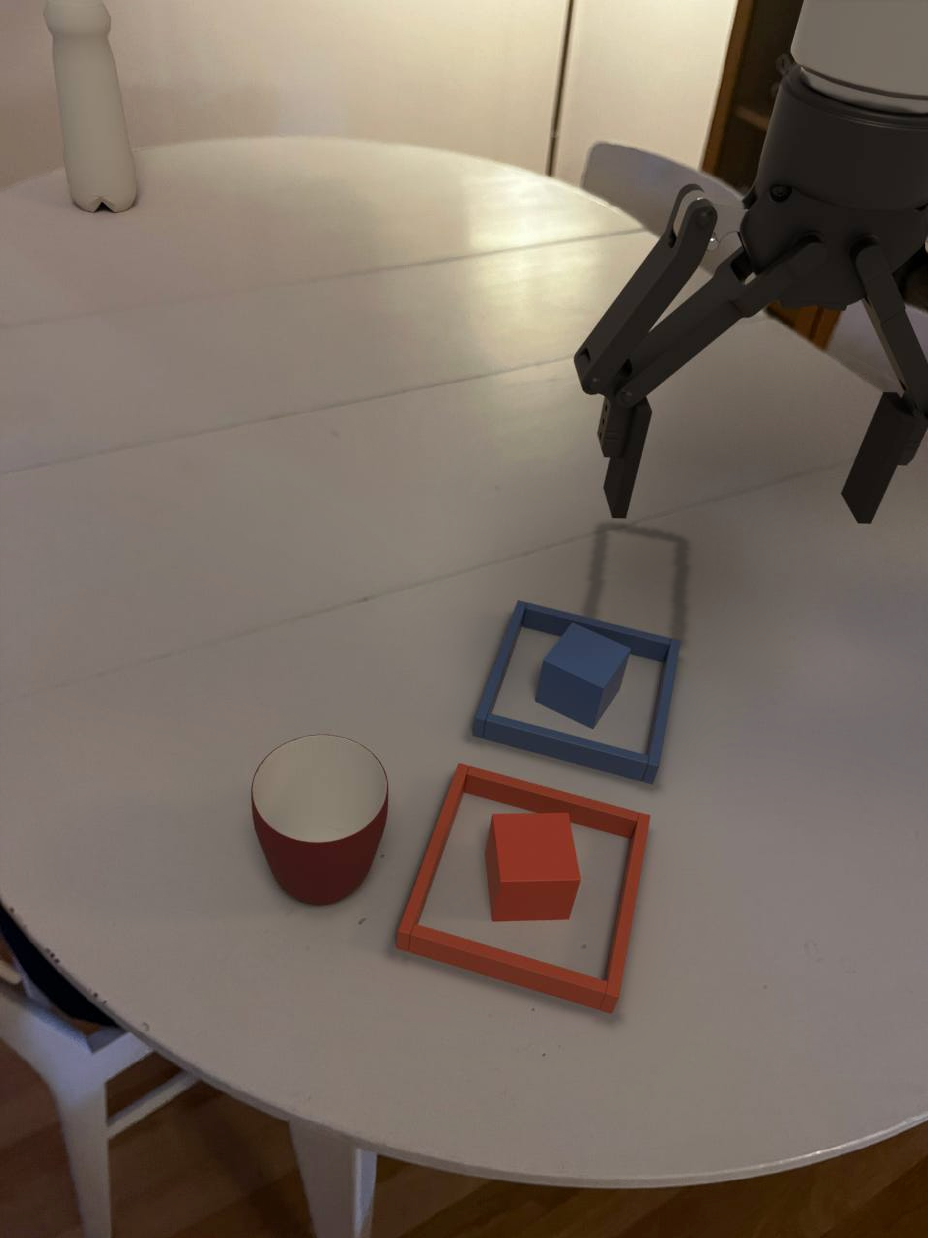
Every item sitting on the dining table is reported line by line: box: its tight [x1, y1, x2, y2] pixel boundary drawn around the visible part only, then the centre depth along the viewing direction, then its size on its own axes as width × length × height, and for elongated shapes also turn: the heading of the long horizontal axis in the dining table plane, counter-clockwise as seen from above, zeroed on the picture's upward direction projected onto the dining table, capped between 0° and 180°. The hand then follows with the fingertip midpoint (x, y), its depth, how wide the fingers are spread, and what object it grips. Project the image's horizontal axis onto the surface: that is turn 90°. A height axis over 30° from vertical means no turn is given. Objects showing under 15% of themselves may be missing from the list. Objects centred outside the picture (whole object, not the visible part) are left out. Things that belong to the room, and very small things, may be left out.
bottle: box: [42, 0, 138, 213], centre depth 130 cm, size 9×9×30 cm
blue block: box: [534, 623, 631, 730], centre depth 78 cm, size 5×5×5 cm
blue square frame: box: [472, 599, 682, 786], centre depth 79 cm, size 14×14×3 cm
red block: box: [484, 812, 582, 923], centre depth 65 cm, size 5×5×5 cm
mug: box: [250, 734, 389, 906], centre depth 64 cm, size 10×8×10 cm
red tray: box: [395, 762, 651, 1015], centre depth 66 cm, size 14×14×3 cm
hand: (736, 506), depth 55 cm, fingers open, 13 cm apart
